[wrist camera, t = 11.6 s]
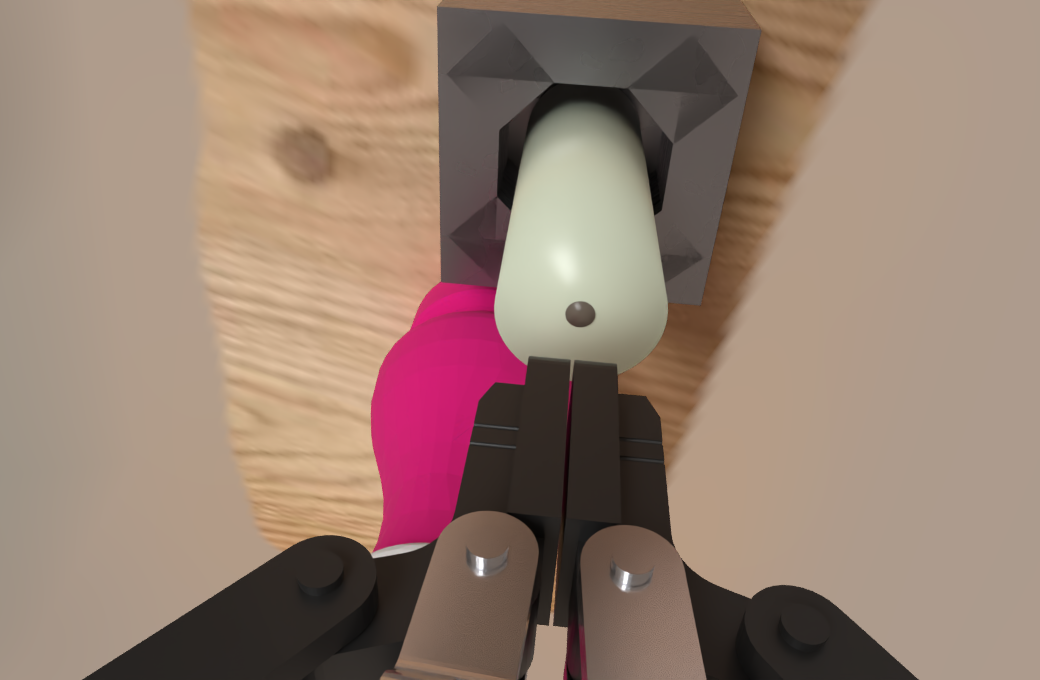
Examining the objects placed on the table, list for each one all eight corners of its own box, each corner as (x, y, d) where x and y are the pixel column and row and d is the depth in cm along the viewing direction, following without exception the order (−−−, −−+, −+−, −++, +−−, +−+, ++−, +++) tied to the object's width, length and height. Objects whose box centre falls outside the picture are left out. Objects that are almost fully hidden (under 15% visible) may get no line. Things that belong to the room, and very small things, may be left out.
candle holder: (461, -23, 22) (437, 6, 19) (738, -4, 22) (761, 29, 19) (461, 224, 27) (441, 282, 24) (688, 244, 26) (700, 305, 23)
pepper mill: (622, 302, 28) (645, 990, 12) (539, 431, 32) (472, 1077, 16) (440, 222, 27) (186, 865, 11) (378, 366, 31) (124, 994, 15)
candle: (504, 118, 23) (459, 291, 15) (603, 54, 22) (611, 205, 14) (565, 206, 25) (554, 406, 17) (660, 151, 24) (698, 339, 15)
